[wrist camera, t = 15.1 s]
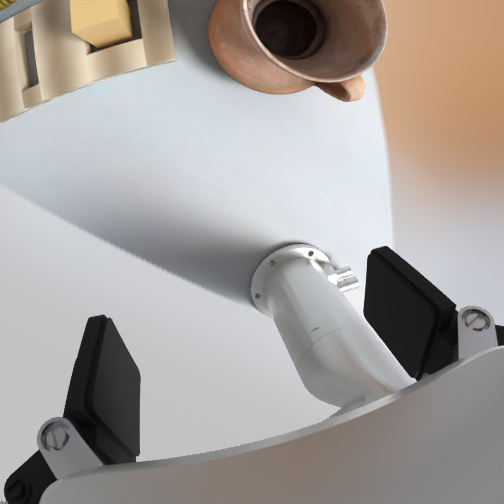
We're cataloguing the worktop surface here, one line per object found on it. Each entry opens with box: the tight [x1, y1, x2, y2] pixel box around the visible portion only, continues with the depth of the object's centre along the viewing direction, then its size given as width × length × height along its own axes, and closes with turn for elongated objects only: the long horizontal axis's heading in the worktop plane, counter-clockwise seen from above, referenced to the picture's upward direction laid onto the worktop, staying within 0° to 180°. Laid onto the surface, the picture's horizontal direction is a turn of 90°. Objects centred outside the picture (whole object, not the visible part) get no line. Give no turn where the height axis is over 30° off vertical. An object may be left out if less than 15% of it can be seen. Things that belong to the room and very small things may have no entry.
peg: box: [70, 0, 133, 48], centre depth 20 cm, size 4×4×10 cm
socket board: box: [0, 0, 176, 123], centre depth 22 cm, size 22×12×3 cm, turn 98°
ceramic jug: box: [208, 0, 388, 102], centre depth 23 cm, size 18×14×14 cm
